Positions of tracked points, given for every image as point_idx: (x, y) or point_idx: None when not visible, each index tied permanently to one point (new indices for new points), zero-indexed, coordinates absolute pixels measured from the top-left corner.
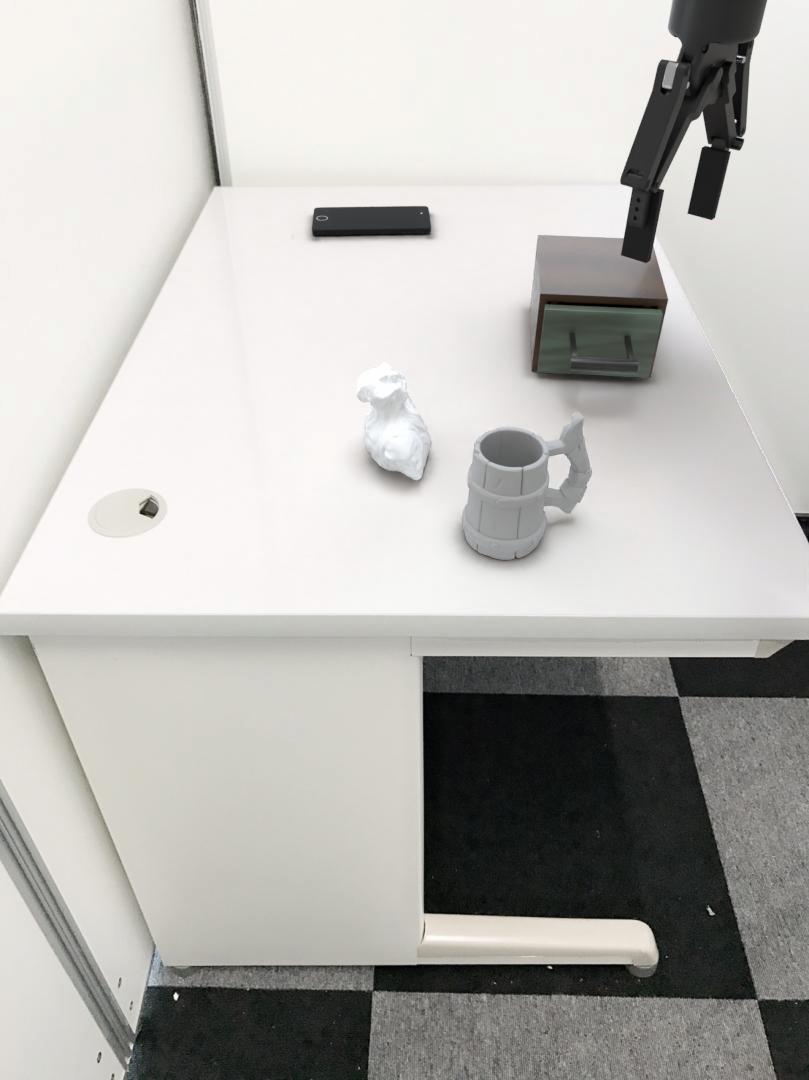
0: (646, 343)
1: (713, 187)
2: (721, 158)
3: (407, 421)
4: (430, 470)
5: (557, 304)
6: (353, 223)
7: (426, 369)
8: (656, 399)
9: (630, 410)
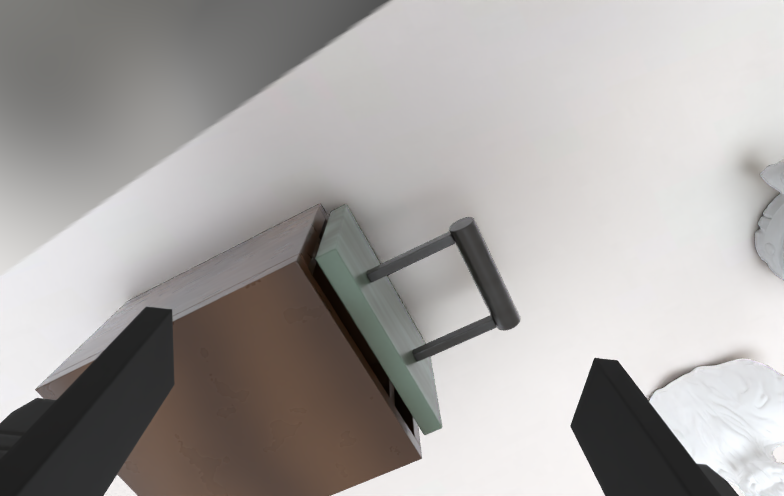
0: (350, 241)
1: (119, 396)
2: (38, 493)
3: (757, 432)
4: (702, 356)
5: None
6: None
7: (482, 464)
8: (380, 170)
9: (435, 194)
